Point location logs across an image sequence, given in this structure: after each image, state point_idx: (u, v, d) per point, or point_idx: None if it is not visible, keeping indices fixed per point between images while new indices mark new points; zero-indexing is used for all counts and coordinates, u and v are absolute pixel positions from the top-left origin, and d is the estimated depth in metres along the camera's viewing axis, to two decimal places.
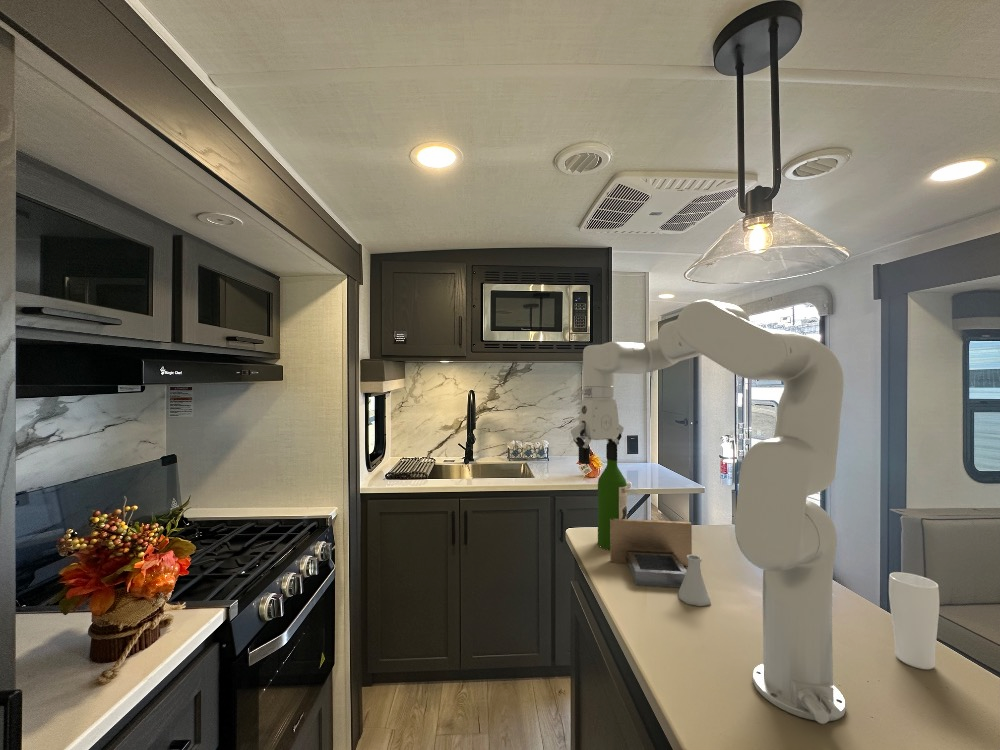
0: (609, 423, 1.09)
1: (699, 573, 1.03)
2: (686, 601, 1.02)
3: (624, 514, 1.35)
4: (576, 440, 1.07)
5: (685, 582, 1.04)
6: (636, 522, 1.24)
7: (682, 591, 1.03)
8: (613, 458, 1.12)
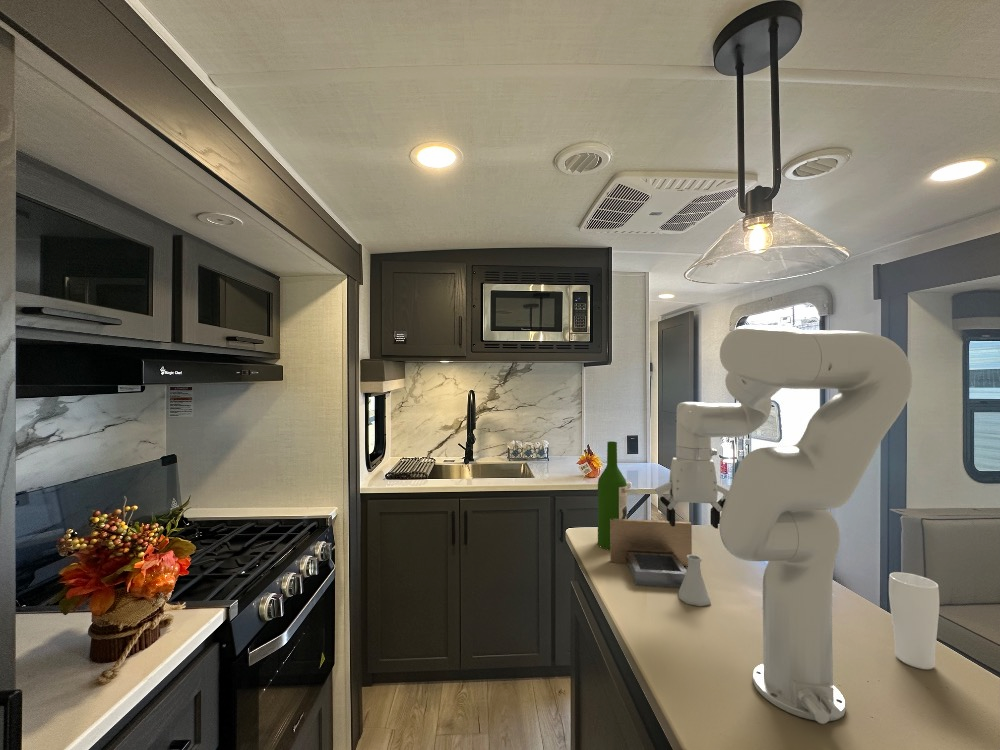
0: None
1: (699, 573, 1.03)
2: (686, 601, 1.02)
3: (624, 514, 1.35)
4: None
5: (685, 582, 1.04)
6: (636, 522, 1.24)
7: (682, 591, 1.03)
8: None
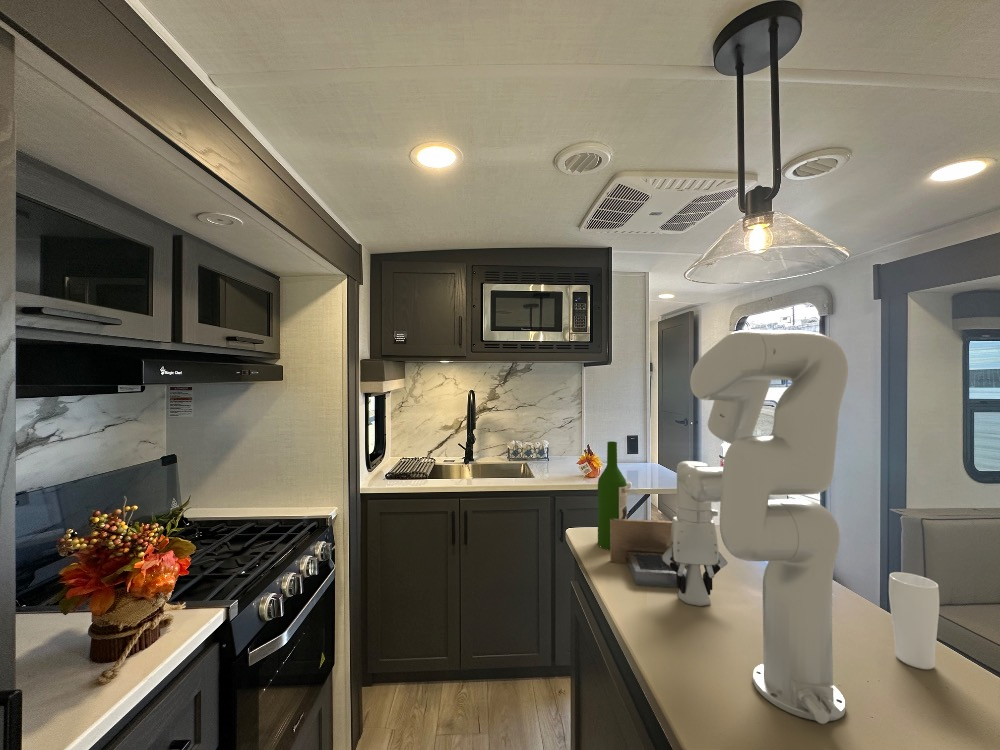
0: None
1: (699, 573, 1.03)
2: (686, 601, 1.02)
3: (624, 514, 1.35)
4: None
5: (685, 582, 1.04)
6: (636, 522, 1.24)
7: None
8: None
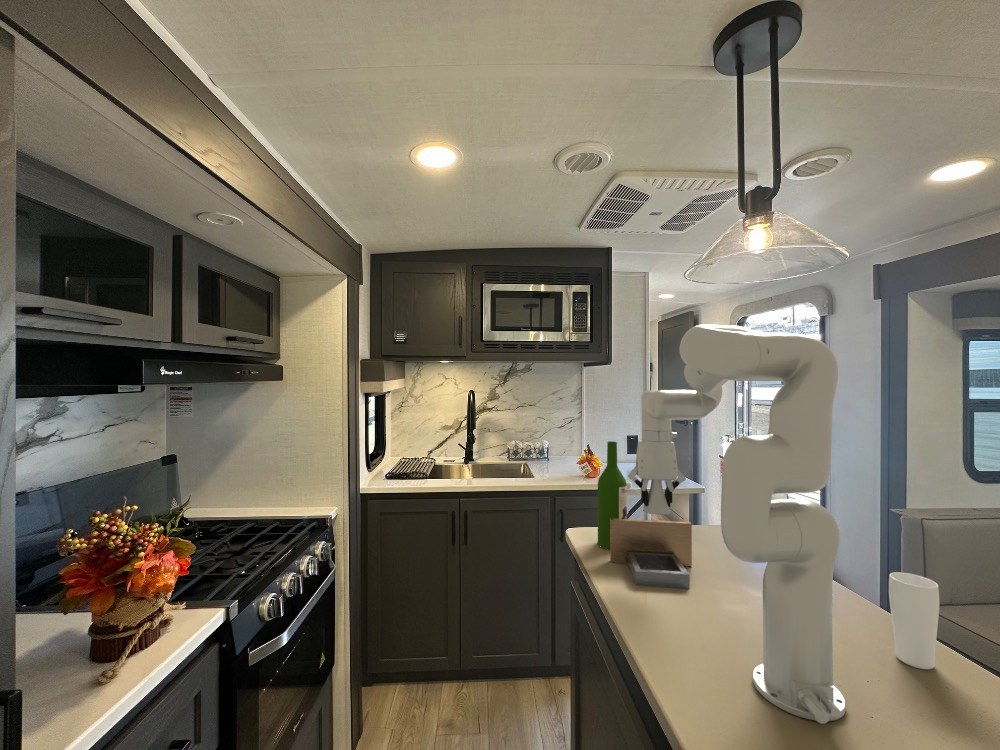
0: None
1: (660, 487, 1.16)
2: (649, 511, 1.15)
3: (624, 514, 1.35)
4: None
5: (648, 496, 1.17)
6: (636, 522, 1.24)
7: None
8: None
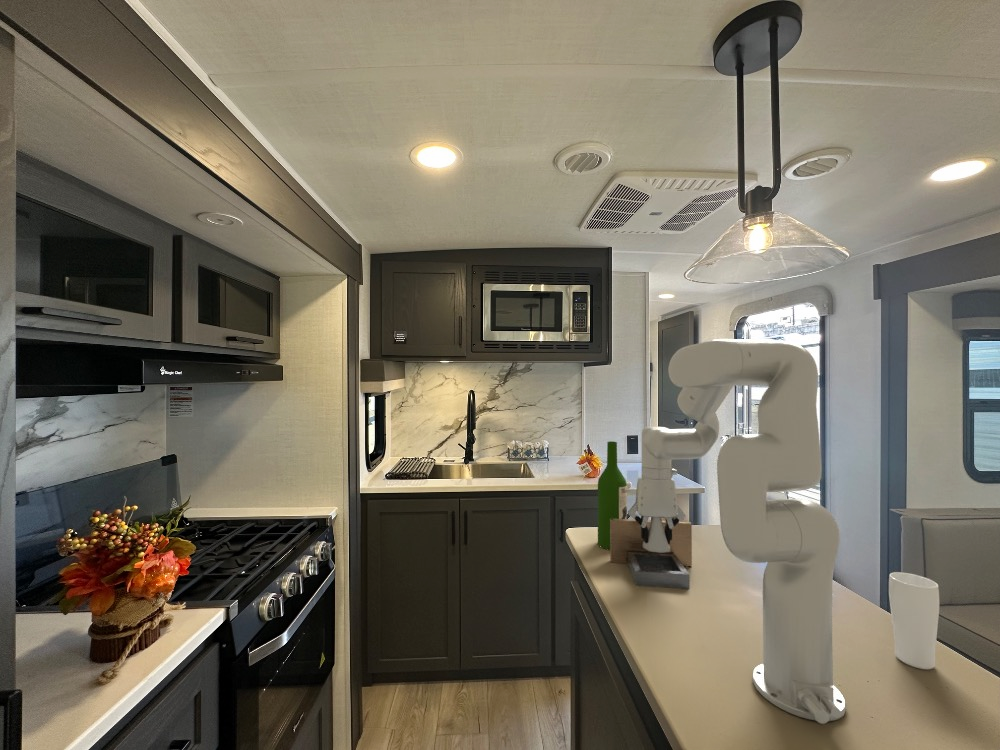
0: None
1: (660, 524, 1.16)
2: (648, 549, 1.15)
3: (624, 514, 1.35)
4: None
5: (648, 533, 1.17)
6: (636, 522, 1.24)
7: None
8: None
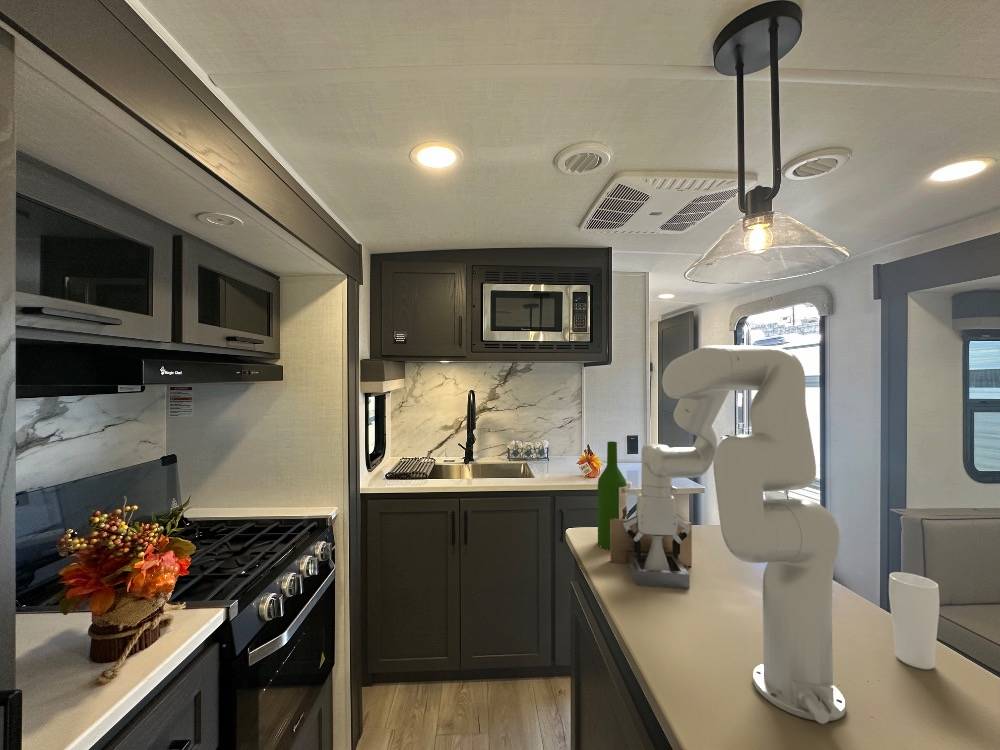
0: None
1: (661, 548, 1.15)
2: None
3: (624, 514, 1.35)
4: None
5: (649, 556, 1.16)
6: None
7: (646, 565, 1.16)
8: None
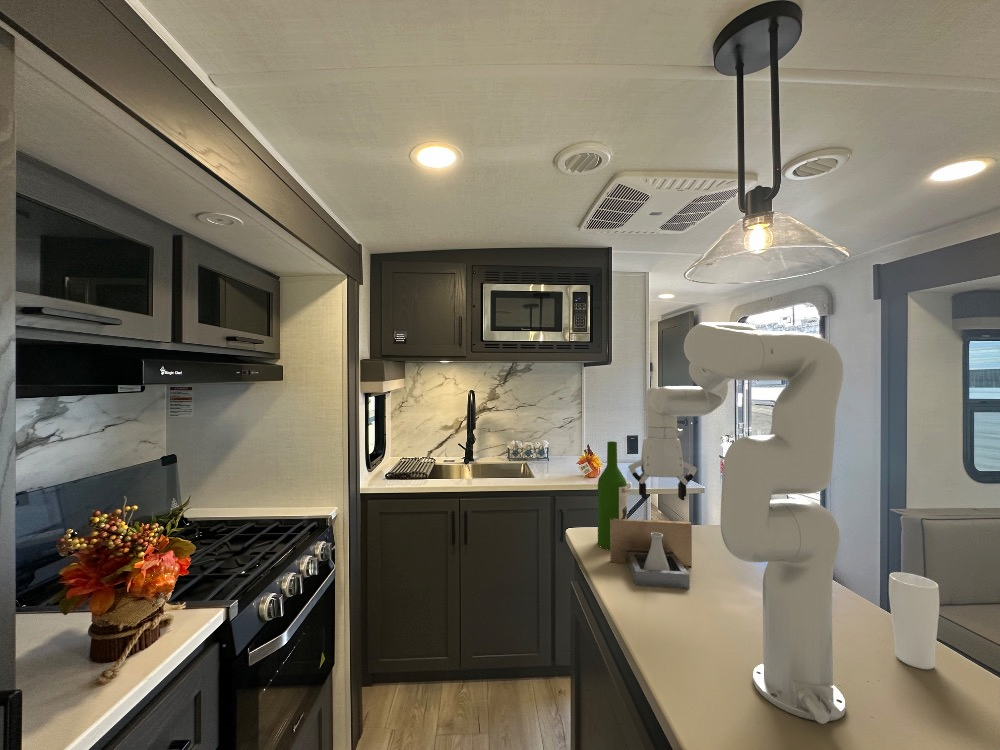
0: None
1: (661, 548, 1.15)
2: None
3: (624, 514, 1.35)
4: None
5: (649, 556, 1.16)
6: (636, 522, 1.24)
7: (646, 565, 1.16)
8: None
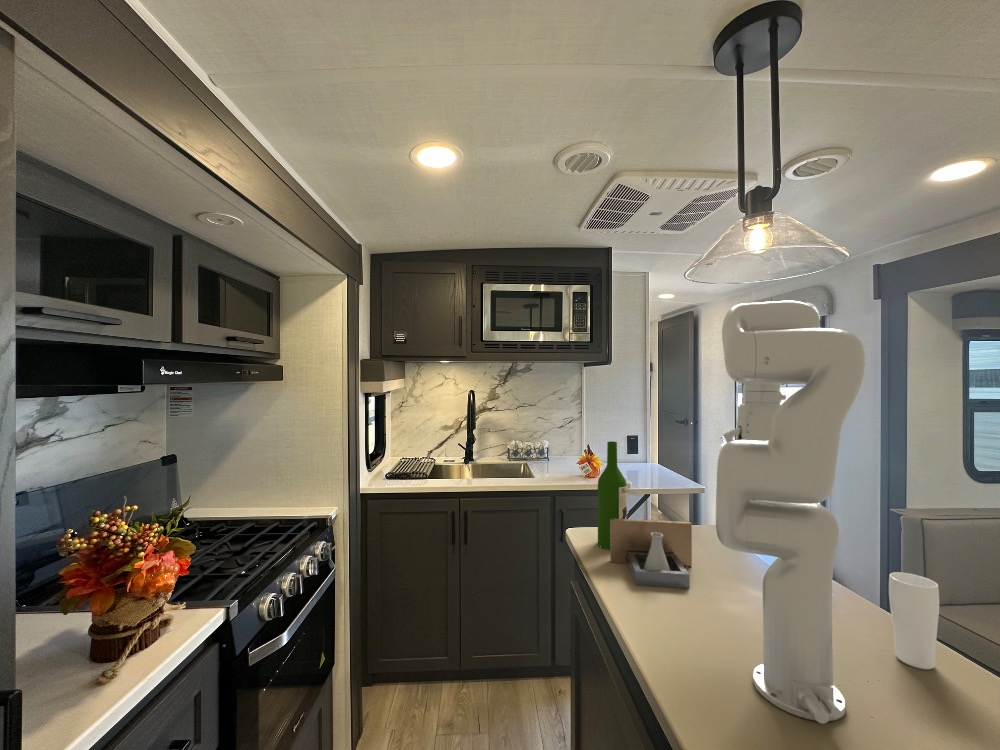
0: None
1: (661, 548, 1.15)
2: None
3: (624, 514, 1.35)
4: None
5: (649, 556, 1.16)
6: (636, 522, 1.24)
7: (646, 565, 1.16)
8: None
